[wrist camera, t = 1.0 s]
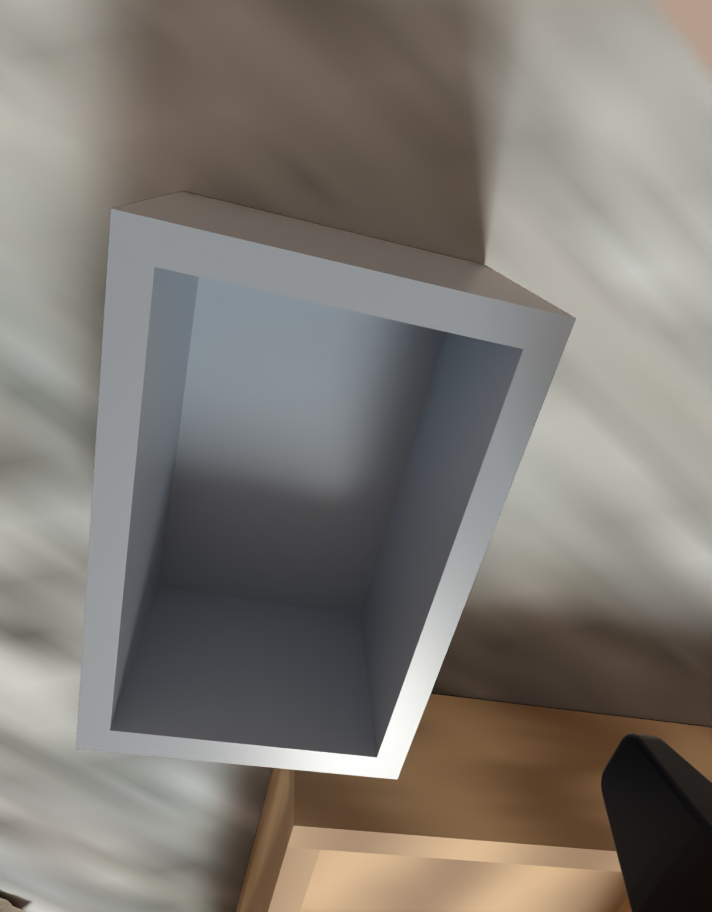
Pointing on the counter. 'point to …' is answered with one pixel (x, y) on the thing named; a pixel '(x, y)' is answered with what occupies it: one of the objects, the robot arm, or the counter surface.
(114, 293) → the small crate
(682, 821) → the robot arm
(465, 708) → the big crate
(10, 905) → the condiment
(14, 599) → the counter surface
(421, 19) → the counter surface
